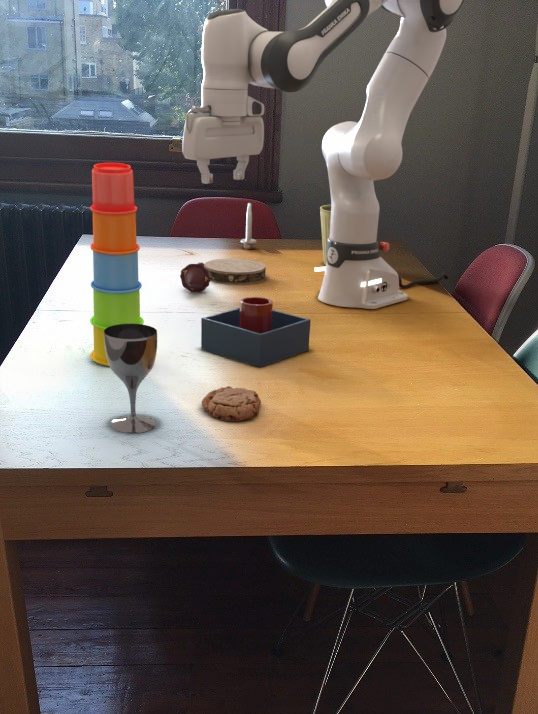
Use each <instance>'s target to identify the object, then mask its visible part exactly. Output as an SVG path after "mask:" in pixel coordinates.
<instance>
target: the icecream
mask: <svg viewBox="0 0 538 714" xmlns="http://www.w3.org/2000/svg"><path fill="white" fill-rule="evenodd" d="M204 264H205V263H204V262H197V263H189V264H187V265H185V267H183V268H182V269H181V270H180V274H179V277H180V281H181V285H182V287H183V288H185V290H187V291H189V292H190V293H202V292H204V291H205V290H207V288H208V287H209V286H210V282H211V281H210V277H209V273H208V271H207V269H206V268H204Z"/></svg>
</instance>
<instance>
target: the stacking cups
mask: <svg viewBox="0 0 538 714" xmlns="http://www.w3.org/2000/svg"><path fill="white" fill-rule="evenodd" d="M91 187H92V188H91V189H92V191H91V192H92V205H90V207H89V209H90V211H91V212H92V233H93V234H92V239H93V240H92V241H93V243H91V244H90V246H89V248H90V250H91V251H92V266H93V268H92V269H93V270H92V271H93V280H91V282H90V286H91V289H92V290H93V293H92V295H93V296H92V297H93V315H92V316H91V318H90V319H89V320H90V324H91V325H92V328H93V333H92V334H93V350H92V351H91V352H90V356H89V358H90V359H91V361H93V362H94V363H96V364H98V365H101V366H107V367H110V366H109V364H108V360H107V357H106V352H105V344H104V330H105V329H106V328H108V327H110V326H114V325H119V324H142V325H144V321H145V320H144V318H143V317H141V299H140V298H141V297H140V290H141V289H142V286H143V284H142V282H140V280H139V251H140V248H141V246H140V245H139V244H138V243H137V241H138V240H137V222H136V221H137V213H136V212H137V211H138V207H137V205H135V190H134V187H135V185H134V171H133V169H132V167H131V165H130V164H126V163H122V162H101V163H95V164H94V165H93V168H92V169H91Z"/></svg>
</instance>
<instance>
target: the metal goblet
mask: <svg viewBox="0 0 538 714" xmlns="http://www.w3.org/2000/svg"><path fill="white" fill-rule="evenodd" d="M104 344H105V352H106V357H107V360H108V364H109V366H108V367H109V368H110V370H111V371H112V373H113V374H114V375H115V376H116V377H117V378H118V379H119V380H120V381H121V382H122V383H123V385H125V387H126V389H127V393H128V398H129V406H130V415H123V416H119V417H117V418H115V419H113V420H112V421H111V422H110V427H111V428H112V429H113V430H115V431H117V432H121V433H125V434H138V433H139V434H140V433H145V432H148V431H151V430H153V429H155V427H156V426H157V421H156V420H154V418H151V417H149V416H146V415H138V414H137V412H136V406H137V405H136V404H137V403H136V402H137V392H138V389H139V386H140V385H141V383H142V382H143V381H144V380H145V379H146V378H147V376H148V375H149V374H150V373H151V371H152V370H153V368H154V366H155V362H156V359H157V358H156V357H157V352H158V329H156V328H155V327H153V326H151V325H147V324H143V325H142V324H119V325H114V326H110V327H108V328H106V329H105V330H104Z"/></svg>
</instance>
